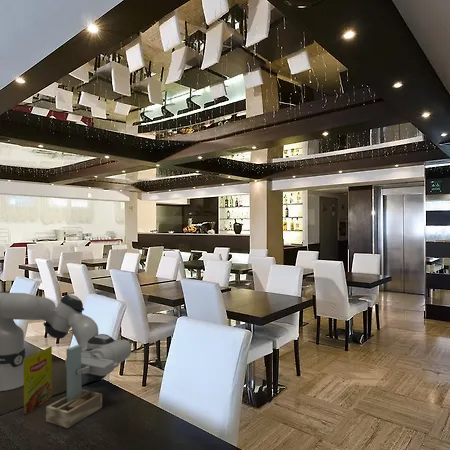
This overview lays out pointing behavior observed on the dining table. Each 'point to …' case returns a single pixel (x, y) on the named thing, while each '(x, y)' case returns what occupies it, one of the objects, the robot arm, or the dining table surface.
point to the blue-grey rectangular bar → (73, 373)
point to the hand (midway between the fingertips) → (73, 372)
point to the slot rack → (65, 418)
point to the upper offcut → (76, 403)
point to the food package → (37, 379)
